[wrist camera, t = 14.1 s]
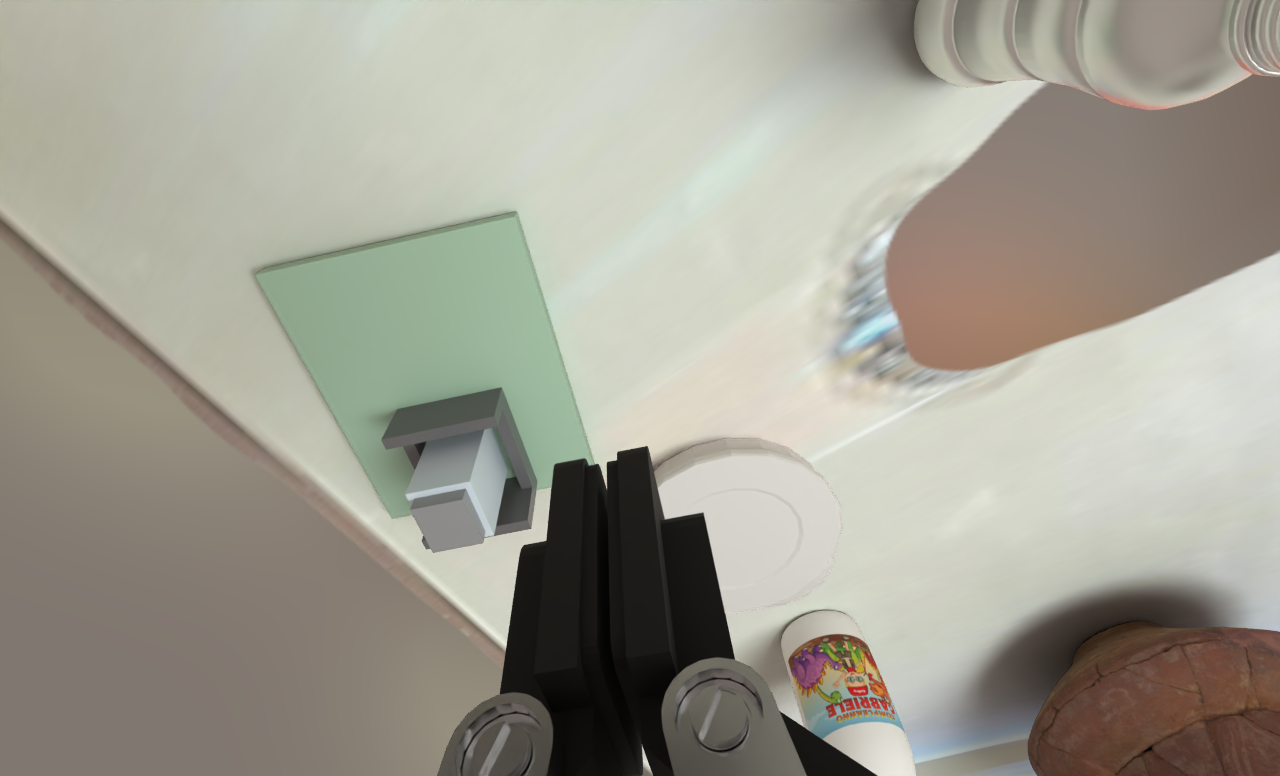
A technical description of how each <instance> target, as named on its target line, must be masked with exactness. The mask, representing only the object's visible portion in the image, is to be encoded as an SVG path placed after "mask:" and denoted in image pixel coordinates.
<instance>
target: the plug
mask: <svg viewBox="0 0 1280 776" xmlns="http://www.w3.org/2000/svg"><path fill="white" fill-rule="evenodd" d="M507 470H508V465H507V463H506V460H505V458H504V455H503V453H502V450H501V448H500V445H499V443H498V440H497V438H496V435H495V433H494V430H493V428H490V429H485V430H480V431H475V432H470V433H465V434H460V435H456V436H451V437H446V438H441V439H436V440H431V441H427V443H426V445H425V448H424V450H423V452H422V455H421V457H420V460H419V462H418V464H417V467H416V469H415V472H414V474H413V476H412V479H411V481H410V484H409V486H408V489H407V491H406V493H405V495H406V497H407V499H408V501H409V503H410V505H411V509H410V511H411V513H412V515H413V517H414V518H415V520H416V522H417V524H418V526H419V528H420V530H421V532H422V533H423V535H424V537H425V539H426V541H427V543H428V545H429V547H430V548H431V550H432V552H433V553H435V552H440V551H445V550H450V549H455V548H461V547H466V546H471V545H476V544H481V543H483V541H484V537H489V536H494V533H495V528H496V523H497V519H498V514H499V509H500V504H501V499H502V494H503V489H504V484H505V479H506V475H507Z"/></svg>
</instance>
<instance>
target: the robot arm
mask: <svg viewBox="0 0 1280 776" xmlns="http://www.w3.org/2000/svg"><path fill="white" fill-rule="evenodd" d="M642 746H643V749H644V751H645V754H646V757H647V760H648V762H649V765H650V768H651V771H652V773H653V776H878V775H876V774H875V773H873V772H872V771H870V770H868V769H867V768H865V767H864V766H862V765H861V764H859V763H858V762H856V761H855V760H853V759H852V758H850V757H849V756H847V755H846V754H844V753H843V752H841V751H839V750H838V749H836V748H835V747H833V746H832V745H830V744H829V743H827V742H826V741H824V740H823V739H821V738H820V737H818V736H817V735H815V734H814V733H812V732H810V731H809V730H807V729H806V728H804V727H803V726H801V725H800V724H798V723H797V722H795V721H794V720H792V719H791V718H789V717H788V716H786V715H785V714H783V713H781V712H780V711H779V709H778V707H777V704H776V702H775V699H774V697H773V695H772V692H771V691H770V689H769V688H768V686H767V684H766V683H765V681H764V680H763V678H762V677H761V676H760V675H759V674H758V673H756V672H755V671H754V670H753V669H752V668H751V667H749V666H747V665H745V664H743V663H741V662H738V661H736V660H735V657H734V653H733V648H732V643H731V639H730V634H729V629H728V625H727V620H726V615H725V610H724V606H723V601H722V596H721V592H720V587H719V582H718V578H717V573H716V568H715V563H714V559H713V554H712V549H711V545H710V540H709V535H708V531H707V526H706V521H705V517H704V512H702V513H697V514H691V515H686V516H681V517H675V518H670V519H665V517H664V513H663V509H662V505H661V500H660V496H659V492H658V487H657V483H656V479H655V474H654V470H653V466H652V462H651V457H650V453H649V449H648V447H647V446H646V447H640V448H635V449H630V450H625V451H619V452H618V453H617V460H616V461H610V462H607V489H606V486H605V482H604V479H603V475H602V472H601V469H600V466H599V464H595V465H589V464H588V462H587V460H586V459H585V458H582V459H577V460H572V461H567V462H561V463H556V464H555V465H554V468H553V478H552V488H551V499H550V509H549V520H548V530H547V540H546V541H544V542H539V543H533V544H528V545H524V546H523V547H522V549H521V552H520V556H519V563H518V570H517V577H516V584H515V591H514V598H513V605H512V612H511V619H510V626H509V633H508V640H507V647H506V654H505V661H504V668H503V675H502V682H501V689H500V695H496V696H495V697H492V698H490V699H488V700H486V701H484V702H482V703H481V704H479V705H478V706H477V707H476V708H474V709H473V710H472V711H471V712H470V713H468V714H467V715H466V716H465V718H464V719H463V720H462V721H461V723H460V724H459V725H458V726H457V728H456V729H455V731H454V733H453V735H452V737H451V739H450V741H449V743H448V745H447V748H446V751H445V754H444V757H443V760H442V763H441V765H440V768H439V772H438V774H437V776H642V774H643V757H642Z"/></svg>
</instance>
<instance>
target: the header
mask: <svg viewBox="0 0 1280 776" xmlns="http://www.w3.org/2000/svg"><path fill="white" fill-rule="evenodd" d="M494 427H497V429H498V431H499V434H500V436H501V439H502V441H503V444H504V446H505V449H506V451H507V454H508V456H509V459H510V461H511V464H512V466H513V469H514V471H515V474H516V476H517V477H512V478H507V479H505V484H504V489H503V494H502V499H501V504H500V509H499V514H498V519H497V523H496V528H495V533H494V536H496V535H501V534H506V533H512V532H517V531H522V530H527V529H531V526H532V519H533V511H534V504H535V496H536V489H537V479H536V476H535V473H534V471H533V468H532V465H531V463H530V460H529V457H528V455H527V452H526V450H525V447H524V444H523V442H522V439H521V436H520V434H519V431H518V428H517V426H516V423H515V420H514V418H513V415H512V412H511V410H510V407H509V405H508V402H507V399H506V397H505V394H504V391H503V389H502V387H500V388H496V389H491V390H486V391H481V392H476V393H472V394H467V395H462V396H457V397H453V398H448V399H443V400H438V401H433V402H429V403H424V404H419V405H414V406H410V407H405V408H400V409H397V410H396V412H395V414H394V416H393V418H392V420H391V422H390V424H389V426H388V427H387V429H386V431H385V433H384V435H383V437H382V439H381V441H382V443H383V445H384V447H385V448H386V450H387V449H392V448H397V447H402V446H403V448H404V450H405V452H406V454H407V456H408V458H409V460H410V462H411V464H412V466H413V468H414V470H415V469H416V467H417V464H418V462H419V460H420V457H421V455H422V452H423V450H424V448H425V445H426V441H431V440H436V439H441V438H446V437H451V436H456V435H460V434H465V433H470V432H475V431H480V430H485V429H490V428H494ZM489 537H491V536H489ZM484 538H486V537H484ZM422 543H423V544H424V546H425V548H426V549H430V547H429V545H428V543H427V541H426V539H425V537H424V536H423V539H422Z"/></svg>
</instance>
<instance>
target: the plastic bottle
mask: <svg viewBox="0 0 1280 776" xmlns="http://www.w3.org/2000/svg"><path fill="white" fill-rule="evenodd" d="M914 39H915V44H916V48H917V51H918V54H919V56H920V58H921V60H922V62H923V63H924V64H925V66H926V67H927V69H929V70H930V71H931V72H932V73H933V74H935V75H936V76H938V77H939V78H941V79H943V80H944V81H946V82H949V83H951V84H953V85H955V86H960V87H966V88H968V87H982V86H990V85H995V84H998V83H1002V82H1006V81H1015V80H1041V81H1046V82H1051V83H1057V84H1063V85H1068V86H1071V87H1073V88H1076V89H1079V90H1081V91H1084V92H1087V93H1089V94H1092V95H1095V96H1097V97H1100V98H1103V99H1106V100H1109V101H1111V102H1113V103H1116V104H1121V105H1126V106H1129V107H1134V108H1139V109H1145V110H1155V109H1156V110H1157V109H1167V108H1171V107H1175V106H1179V105H1184V104H1188V103H1192V102H1195V101H1199V100H1203V99H1206V98H1208V97H1210V96H1213V95H1215V94H1217V93H1219V92H1221V91H1223V90H1225V89H1227V88H1229V87H1231V86H1232V85H1234V84H1236V83H1238V82H1240V81H1242V80H1243V79H1245V78H1247V77H1249V76H1250V75H1252V74H1257V75H1263V76H1274V77H1279V76H1280V0H919V1H918V4H917V8H916V12H915V19H914Z"/></svg>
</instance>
